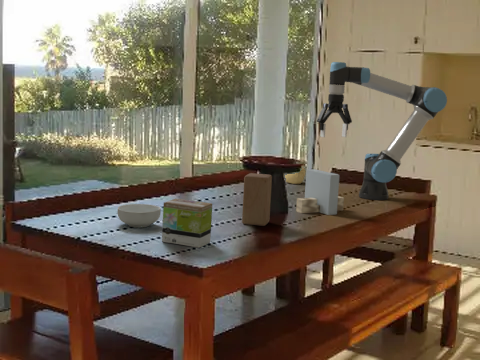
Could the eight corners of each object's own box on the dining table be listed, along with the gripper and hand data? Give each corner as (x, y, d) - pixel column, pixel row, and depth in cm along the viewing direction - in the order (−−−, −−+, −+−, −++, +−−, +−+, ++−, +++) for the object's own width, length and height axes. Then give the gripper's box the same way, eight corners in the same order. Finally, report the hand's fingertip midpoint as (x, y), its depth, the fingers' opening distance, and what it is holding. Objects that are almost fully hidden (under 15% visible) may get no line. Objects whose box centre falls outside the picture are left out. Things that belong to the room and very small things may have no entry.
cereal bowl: (121, 219, 294) (122, 202, 293) (162, 222, 294) (163, 204, 293) (113, 228, 277) (113, 210, 276) (156, 231, 277) (157, 212, 276)
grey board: (304, 207, 342) (306, 169, 340) (312, 207, 345) (315, 169, 342) (327, 214, 327) (330, 175, 325) (336, 214, 330) (339, 174, 327)
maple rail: (337, 208, 344) (338, 196, 343) (343, 210, 341) (344, 197, 340) (296, 211, 331) (296, 198, 331) (301, 213, 328) (302, 200, 327)
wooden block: (265, 226, 295) (268, 177, 292) (241, 224, 297) (243, 175, 294) (269, 222, 305) (272, 174, 302) (246, 219, 307) (248, 172, 304)
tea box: (161, 242, 259) (162, 201, 257) (173, 237, 268) (175, 197, 266) (199, 248, 253) (201, 206, 251) (211, 242, 263) (213, 202, 261)
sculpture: (299, 185, 411) (300, 166, 409) (280, 183, 417) (281, 164, 415) (307, 183, 421) (309, 165, 419) (289, 181, 427) (290, 162, 425)
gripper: (351, 94, 369) (348, 136, 372) (311, 92, 356) (308, 136, 359) (360, 94, 363) (357, 137, 366) (320, 93, 350) (317, 137, 353)
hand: (333, 137), depth 363 cm, fingers open, 13 cm apart
